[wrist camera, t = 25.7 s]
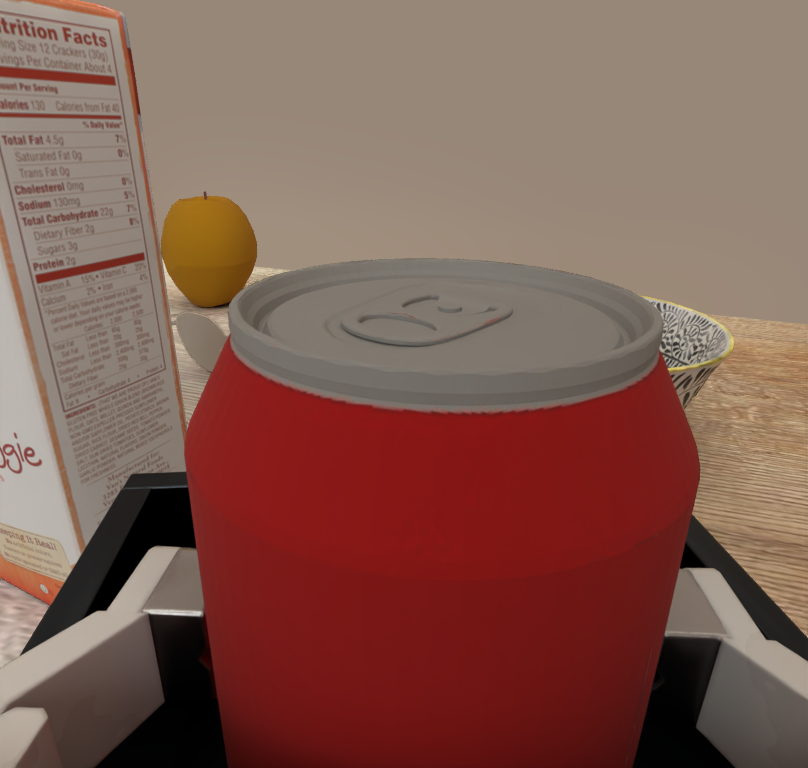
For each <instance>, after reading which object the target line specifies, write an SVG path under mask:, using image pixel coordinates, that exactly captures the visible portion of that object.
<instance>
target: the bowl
mask: <svg viewBox="0 0 808 768" xmlns="http://www.w3.org/2000/svg"><path fill="white" fill-rule="evenodd" d="M639 296H641V295H639ZM641 297H642V298H644V299H646V300H647V301H649V302H650V303H651V304H652V305H653V306H654V307H656V309H657V310H658V311H659V312H660V314H661V316H662V318H663V325H664V328H663V334H662V341H661V345H660V348H659V349H660V351H661V353H662V355H663V357H664V359H665V362H666V365H667V367H668V370H669V373H670V375H671V378H672V381H673V383H674V386H675V389H676V391H677V394H678V397H679V399H680V402H681V405H682V407H683V409H684V408H686V406H687V405H688V404H689V402H690V401H691V400H692V399H693V398H694V397H695V396H696V395H697V393H698V391H699V390H700V389H701V387H702V386H703V384H704V383H705V382H706V380H707V379H708V377H709V376H710V375H711V373H712V372H713V371H714V370H715V369H716V368H717V366H718V365H719V364H720V363H721V362H722V361H723V360H724V359H725V358H726V357H727V356H729V354H730V353H731V352H732V350H733V348H734V338H733V336H732V334H731V333H730V332H729V331H728V329H727V328H726V327H724V326H723V325H722V324H721V323H719V322H718V321H716V320H714V319H712V318H710V317H709V316H706V315H704V314H702V313H699V312H697V311H695V310H692V309H690V308H687V307H684V306H681V305H678V304H674V303H671V302H667V301H663V300H659V299H655V298H651V297H646V296H641Z"/></svg>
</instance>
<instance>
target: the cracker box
mask: <svg viewBox="0 0 808 768" xmlns="http://www.w3.org/2000/svg"><path fill="white" fill-rule="evenodd" d="M186 434H187V424H186V417H185V411H184V404H183V397H182V391H181V384H180V377H179V371H178V364H177V357H176V350H175V344H174V337H173V330H172V323H171V317H170V310H169V303H168V296H167V289H166V283H165V276H164V269H163V263H162V256H161V249H160V243H159V236H158V229H157V222H156V216H155V209H154V202H153V196H152V190H151V183H150V176H149V169H148V163H147V156H146V149H145V142H144V136H143V129H142V122H141V115H140V107H139V101H138V93H137V86H136V79H135V72H134V66H133V60H132V54H131V48H130V41H129V35H128V29H127V23H126V17H125V15H124V14H123V13H121V12H120V11H117V10H114V9H111V8H108V7H104V6H102V5H97V4H92V3H88V2H83V1H78V0H0V578H1V579H3V580H5V581H7V582H9V583H11V584H12V585H14V586H16V587H18V588H20V589H22V590H24V591H25V592H27V593H29V594H31V595H33V596H35V597H36V598H38V599H40V600H42V601H44V602H46V603H47V604H49V605H51V603H52V602H53V600H54V599H55V597H56V595H57V594H58V592H59V590H60V589H61V587H62V585H63V584H64V582H65V580H66V579H67V577H68V575H69V574H70V572H71V571H72V569H73V567H74V566H75V564H76V562H77V561H78V559H79V557H80V556H81V554H82V552H83V551H84V549H85V548H86V546H87V544H88V543H89V541H90V539H91V538H92V536H93V534H94V533H95V531H96V529H97V528H98V526H99V525H100V523H101V521H102V520H103V518H104V516H105V515H106V513H107V511H108V510H109V508H110V506H111V505H112V503H113V502H114V500H115V498H116V497H117V495H118V493H119V492H120V490H122V488H123V486H124V485H125V483H126V481H127V480H128V478H129V476H130V475H131V474H137V473H162V472H186V465H185V457H184V443H185V438H186Z"/></svg>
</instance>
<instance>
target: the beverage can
mask: <svg viewBox="0 0 808 768" xmlns="http://www.w3.org/2000/svg"><path fill="white" fill-rule="evenodd" d="M228 317H229V328H230V335H229V337H228V339H227V340H226V342H225V344H224V346H223V349H222V351H221V353H220V355H219V357H218V360H217V362H216V364H215V366H214V369H213V371H212V373H211V375H210V377H209V380H208V382H207V384H206V386H205V388H204V391H203V393H202V395H201V397H200V400H199V402H198V404H197V406H196V408H195V411H194V413H193V415H192V418H191V420H190V422H189V426H188V430H187V434H186V438H185V443H184V457H185V465H186V472H187V480H188V487H189V495H190V503H191V510H192V518H193V525H194V533H195V540H196V548H197V555H198V563H199V570H200V578H201V585H202V593H203V600H204V607H205V614H206V621H207V628H208V635H209V642H210V649H211V656H212V662H213V669H214V676H215V683H216V690H217V697H218V704H219V711H220V718H221V725H222V732H223V738H224V745H225V751H226V757H227V764H228V768H632V767H633V763H634V759H635V755H636V751H637V747H638V743H639V739H640V735H641V731H642V727H643V722H644V718H645V714H646V710H647V706H648V701H649V697H650V693H651V689H652V685H653V680H654V676H655V672H656V668H657V664H658V659H659V655H660V651H661V647H662V643H663V638H664V634H665V630H666V626H667V621H668V617H669V613H670V608H671V604H672V599H673V595H674V590H675V586H676V582H677V577H678V573H679V568H680V564H681V559H682V555H683V551H684V546H685V542H686V537H687V533H688V529H689V524H690V520H691V515H692V511H693V506H694V502H695V498H696V493H697V489H698V484H699V480H700V463H699V456H698V451H697V446H696V443H695V440H694V437H693V434H692V431H691V429H690V426H689V423H688V421H687V418H686V415H685V413H684V410H683V407H682V405H681V402H680V399H679V397H678V394H677V391H676V389H675V386H674V383H673V381H672V378H671V375H670V373H669V370H668V367H667V365H666V362H665V359H664V357H663V355H662V353H661V351H660V349H659V348H660V345H661V341H662V334H663V328H664V325H663V318H662V316H661V314H660V312H659V311H658V310H657V309H656V307H654V306H653V305H652V304H651V303H650V302H649V301H647V300H646V299H644V298H642V297H641V296H639V295H637V294H635V293H633V292H631V291H629V290H627V289H624V288H622V287H619V286H616V285H614V284H611V283H608V282H604V281H601V280H597V279H594V278H591V277H587V276H582V275H578V274H574V273H569V272H565V271H559V270H553V269H548V268H542V267H535V266H527V265H521V264H513V263H503V262H492V261H479V260H464V259H463V260H462V259H436V258H430V259H429V258H405V259H378V260H363V261H351V262H342V263H333V264H325V265H319V266H313V267H308V268H303V269H299V270H294V271H289V272H284V273H281V274H277V275H274V276H270V277H268V278H265V279H263V280H260V281H258V282H255V283H253V284H251V285H249V286H247V287H246V288H244V289H243V290H241V291H240V292H239V293H238V294H237V295H236V296H235V297H234V298H233V299H232V301H231V303H230V305H229V310H228Z"/></svg>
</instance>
